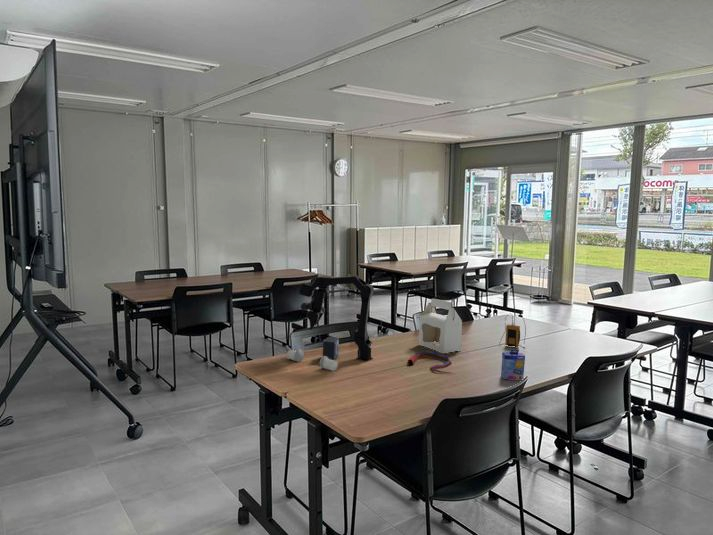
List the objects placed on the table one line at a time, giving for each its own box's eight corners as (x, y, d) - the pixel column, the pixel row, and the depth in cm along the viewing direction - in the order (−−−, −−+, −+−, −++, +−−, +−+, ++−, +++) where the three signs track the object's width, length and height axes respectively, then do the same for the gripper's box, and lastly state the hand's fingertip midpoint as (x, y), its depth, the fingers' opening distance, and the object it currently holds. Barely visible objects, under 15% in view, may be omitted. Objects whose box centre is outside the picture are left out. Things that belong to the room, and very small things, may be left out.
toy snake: (474, 369, 262) (475, 359, 262) (449, 376, 246) (449, 366, 246) (425, 357, 284) (425, 348, 284) (398, 363, 268) (399, 353, 268)
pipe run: (338, 369, 254) (338, 357, 254) (330, 372, 250) (330, 360, 249) (294, 357, 273) (294, 346, 272) (286, 360, 268) (286, 349, 267)
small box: (334, 361, 267) (334, 342, 266) (322, 360, 268) (322, 341, 267) (339, 356, 277) (339, 337, 276) (327, 355, 279) (327, 336, 278)
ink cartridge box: (503, 380, 244) (504, 350, 242) (500, 376, 249) (501, 347, 248) (524, 380, 243) (526, 350, 242) (520, 377, 249) (522, 347, 247)
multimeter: (528, 346, 307) (530, 313, 305) (523, 349, 299) (525, 315, 297) (503, 342, 315) (505, 310, 313) (498, 345, 307) (500, 312, 305)
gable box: (461, 351, 293) (463, 302, 290) (443, 354, 286) (446, 304, 283) (435, 342, 312) (436, 296, 309) (418, 345, 305) (419, 298, 301)
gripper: (307, 293, 286) (303, 320, 288) (299, 299, 268) (294, 328, 270) (327, 297, 285) (322, 324, 287) (320, 303, 267) (315, 332, 269)
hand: (313, 327), depth 278 cm, fingers open, 9 cm apart
